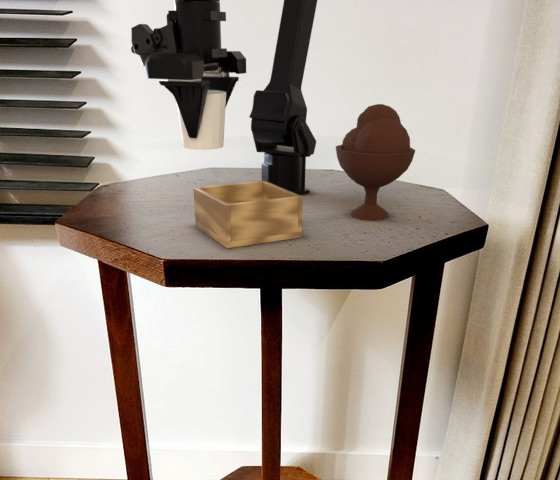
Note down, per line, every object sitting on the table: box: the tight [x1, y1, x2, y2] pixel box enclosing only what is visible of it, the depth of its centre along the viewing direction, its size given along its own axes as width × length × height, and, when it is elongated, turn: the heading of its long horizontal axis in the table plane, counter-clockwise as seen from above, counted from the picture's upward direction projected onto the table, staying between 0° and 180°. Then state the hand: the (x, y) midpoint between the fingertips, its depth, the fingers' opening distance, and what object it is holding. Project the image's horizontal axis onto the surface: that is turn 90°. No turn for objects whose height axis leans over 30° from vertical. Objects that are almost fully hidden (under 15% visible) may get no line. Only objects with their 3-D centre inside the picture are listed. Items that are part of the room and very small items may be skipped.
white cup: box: [175, 90, 227, 151], centre depth 82 cm, size 7×7×7 cm
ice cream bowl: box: [335, 103, 416, 221], centre depth 85 cm, size 11×11×15 cm
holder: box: [192, 180, 304, 249], centre depth 79 cm, size 11×11×5 cm
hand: (203, 134), depth 83 cm, fingers closed on white cup, 6 cm apart
